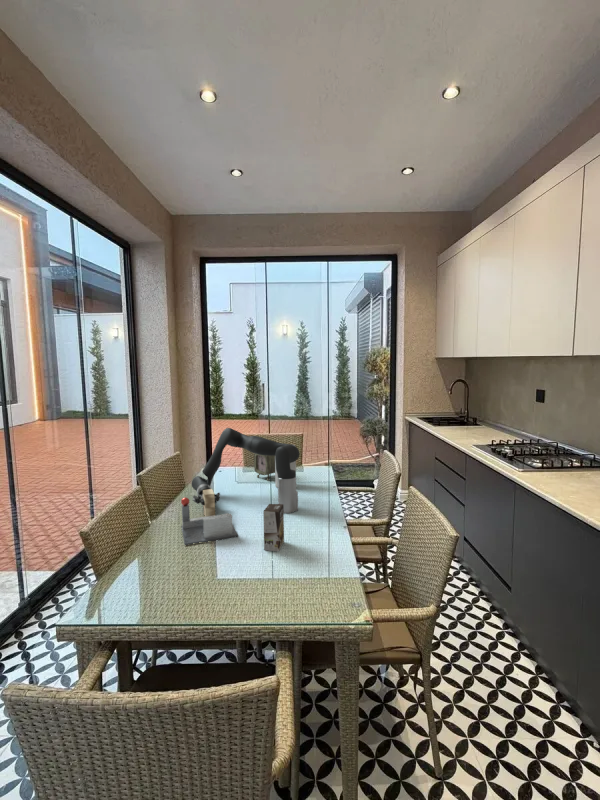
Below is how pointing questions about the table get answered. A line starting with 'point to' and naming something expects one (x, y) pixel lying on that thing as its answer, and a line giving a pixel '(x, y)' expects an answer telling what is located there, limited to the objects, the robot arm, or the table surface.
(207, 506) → the maple block
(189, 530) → the vise bed
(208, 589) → the table surface
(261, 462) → the tabletop clock
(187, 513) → the vise slide jaw
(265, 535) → the coffee box
